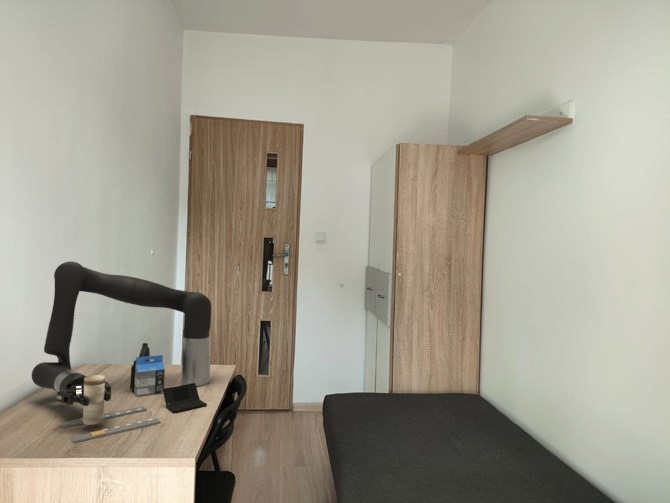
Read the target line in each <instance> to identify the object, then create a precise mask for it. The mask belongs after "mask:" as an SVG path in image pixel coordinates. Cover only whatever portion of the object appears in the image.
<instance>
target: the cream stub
mask: <svg viewBox="0 0 670 503" xmlns="http://www.w3.org/2000/svg"><path fill="white" fill-rule="evenodd" d="M105 382H106V376H105V375H104V374H103V375H102V374H93V375H92V374H91V375H88V376H87V377H85V378H84V396H86V397H88V398H89V405H88V406H84V405H82V406H83V409H82V418H83V423H84V425H88V426H89V425H97V424H100V423H102V422H103V421H104V419H103V417H104V414H105V409H104V408H105V400H104V389H105Z"/></svg>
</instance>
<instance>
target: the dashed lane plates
mask: <svg viewBox="0 0 670 503" xmlns="http://www.w3.org/2000/svg"><path fill="white" fill-rule="evenodd" d="M146 411H147V408H146V407H145V406H143V405H142V406H137V407H132V408H128V409H121V410H118V411H112V412H106V413H104V417H103V420H107V419H113V418H116V417H122V416H126V415H131V414H137V413H140V412H146ZM161 423H162V422H161V420H160V419H159V418H158V417H156V418H149V419H146V420H142V421H141V420H140V421H137V422H134V423H127V424H124V425H121V426H120V425H118V426H114V427H111V428H104V429H101V430H96V431H91V432H88V433H85V434H79V435H75V436H74V435H73V436H71V437H70V440H71V442H72V443H73V444H75V443H80V442H85V441H89V440H93V439H98V438H102V437H106V436H111V435H115V434H119V433H124V432H128V431H133V430H136V429H141V428H145V427H150V426H153V425H154V426H155V425H159V424H161ZM82 424H84V423H83V417H80V418H76V419H71V420H68V421H67V420H65V421H62V422H61V425H62V427H63V428H68V427H74V426H78V425H82ZM84 425H85V424H84Z"/></svg>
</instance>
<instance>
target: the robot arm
mask: <svg viewBox="0 0 670 503" xmlns="http://www.w3.org/2000/svg"><path fill="white" fill-rule="evenodd" d="M53 278H54V296H53V305H52V310H51V313H50V314H51V316H50V319H49V323H48V328H47V331H46V332H47V333H46V336H45V343H44V347H43V351H44V353H45V354H46V355H50V356H55V357H56V358H57V362H55V361H53V362H48V361H47V362H46V361H45V362H44V361H43V362H40V363H38V364H36V365H35V366H34V367H33V369H32V371H31V380H32V382H33V384H34V385H36V386H38V387H39V388H45V389H49V390H53V391H56V403H57V402H58V403H62V404H64V405H67V406H71V405H74V403H75V404H77V405H81V406H83V405H84V406H88V405H89V398H88V397H86V396H84V378H85V377H88V376H86V375H85V374H83V373H80V372H78V371H76V370H73V369H72V365H71V355H70V354H71V352H70V349H71V348H70V346H71V341H72V338H73V337H72V336H73V331H74V321H75V310H76V304H77V300H78V297H79V294H80V292H85V293H91V294H96V295H100V296H103V297H107V298H109V299H112V300H115V301H118V302H123V303H126V304H129V305H134V306H140V307H146V308H160V309H161V308H162V309H163V308H164V309H170V310H173V311H177V312H180V313H183V314H184V320H183V321H184V324H183V330H182V331H183V333H182V351H181V352H182V354H181V356H182V357H181V377H180V380H181V382H180V383H181V385H186V384H191V383H195V384H196V387H201V386H205V385H207V384H209V383H210V381H211V356H209V352H210V351H209V349H210V347H209V346H210V343H209V342H210V331H211V325H212V324H211V322H212V303H211V300H210V298H208V297H207V296H206V295H205V294H203V293H201V292H197V291H196V292H195V291H188V290H180V289H176V288H171V287H168V286H166V285H163V284H160V283H157V282H154V281H150V280H147V279H144V278H143V279H142V278H138V277H135V276H130V275H129V276H127V275H122V274H121V275H120V274H109V273H103V272H101V271H96V270H93V269H91V268H87V267H84V266H83V265H82V264H80V263H78V262H77V261H65V262H63V263H61V264H59V265H58V266H57V267H56V268H55V271H54V275H53ZM111 399H112V386H111V385H110V383H109V382H108V381H105V389H104V402H105V401H106V402H109V401H111Z"/></svg>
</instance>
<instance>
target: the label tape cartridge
mask: <svg viewBox="0 0 670 503" xmlns="http://www.w3.org/2000/svg"><path fill="white" fill-rule="evenodd" d="M163 358H164V357H163V354H161V355H159V354H158V355H150V356H146V357H139V356H136V357H135V360H136V367H135V389H133V391H134V395H135V396H136V397H141V396H142V397H143V396H149V395H156V394H163V389H165V374H166V372H165V366H164V362H163ZM148 359H150V361H147V362H145V360H148Z"/></svg>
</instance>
